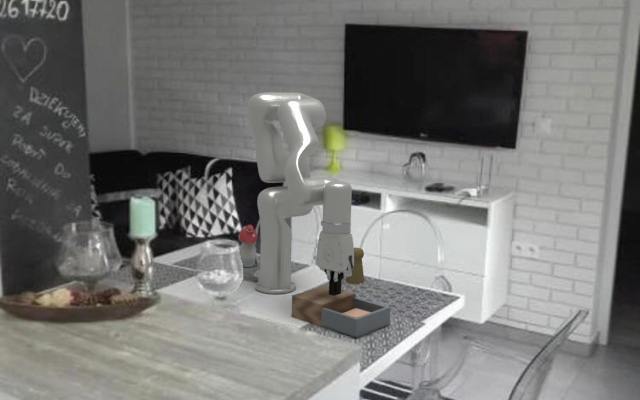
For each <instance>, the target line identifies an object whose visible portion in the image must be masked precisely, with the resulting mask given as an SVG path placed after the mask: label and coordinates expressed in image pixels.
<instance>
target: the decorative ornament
mask: <svg viewBox="0 0 640 400" xmlns="http://www.w3.org/2000/svg"><path fill="white" fill-rule="evenodd" d="M238 240H239V241H240V242H241V245H240V248H239V250H240V255H241V260H242V263H243V268H254V267H257V266H258V258H257V256H256V255H257V254H256V247H255V245H254V244H255V243H256V241H257V240H258V234H257V232H256V229H254V226H253V225H252V224H247V225H244V226H243V227H242V228H241V229H240V231H239V233H238Z"/></svg>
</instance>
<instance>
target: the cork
mask: <svg viewBox="0 0 640 400" xmlns="http://www.w3.org/2000/svg"><path fill="white" fill-rule="evenodd" d="M364 255H365V252H364V249H363V248H361V247H354V267H353V269H352V276H349V277H345V282H346V283H348V284H351V285H361V284H360V283H362V284H364V283H365V275H364V266H363V258H364ZM363 282H364V283H363Z"/></svg>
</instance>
